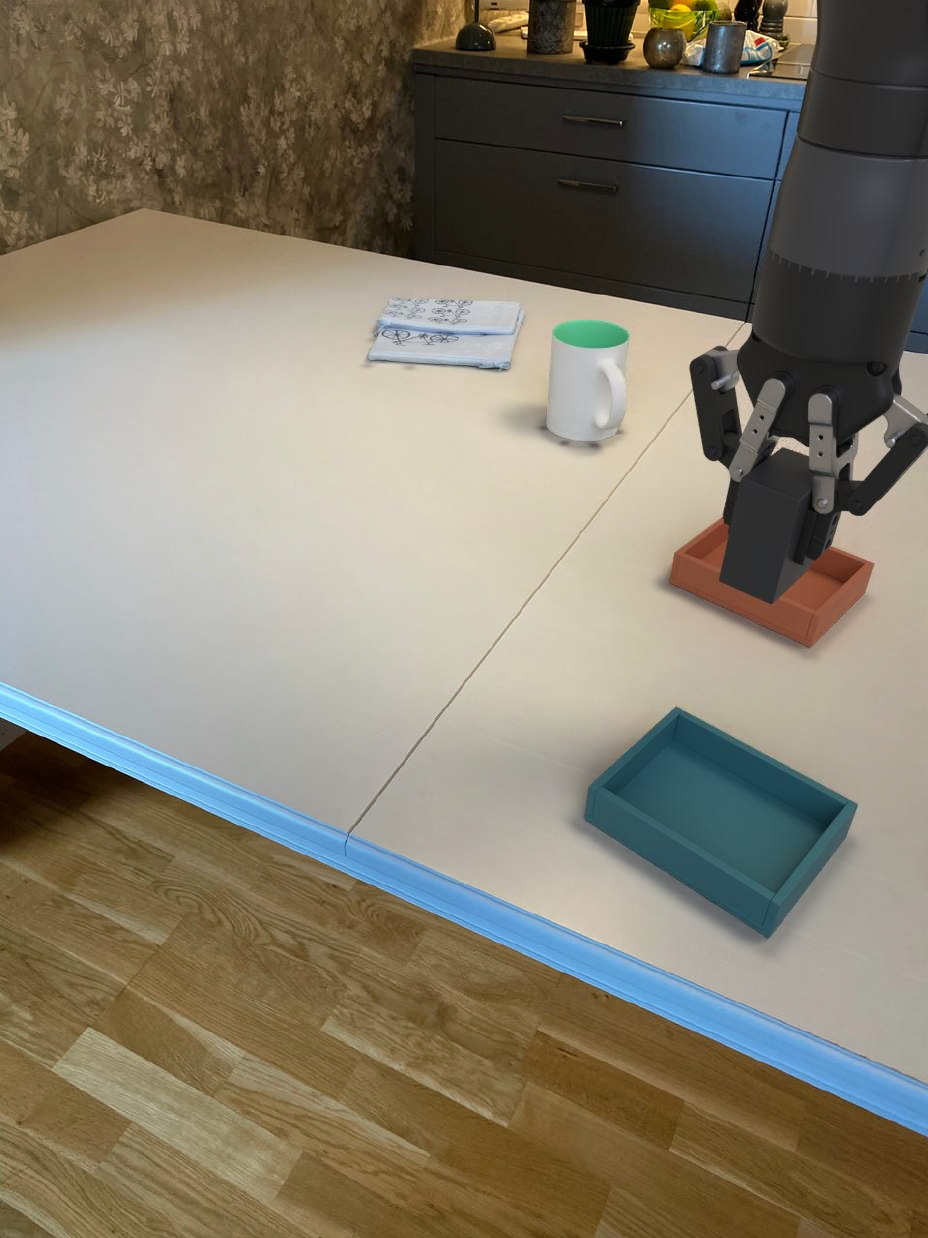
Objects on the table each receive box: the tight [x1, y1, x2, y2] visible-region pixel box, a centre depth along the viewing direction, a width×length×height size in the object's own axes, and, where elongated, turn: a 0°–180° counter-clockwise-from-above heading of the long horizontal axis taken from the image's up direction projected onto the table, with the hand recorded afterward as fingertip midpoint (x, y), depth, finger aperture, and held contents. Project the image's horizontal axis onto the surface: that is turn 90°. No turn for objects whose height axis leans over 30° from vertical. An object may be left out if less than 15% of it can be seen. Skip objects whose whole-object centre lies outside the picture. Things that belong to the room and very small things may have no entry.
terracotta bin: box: [668, 516, 875, 648], centre depth 83 cm, size 13×10×3 cm
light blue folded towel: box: [367, 297, 526, 372], centre depth 128 cm, size 19×20×2 cm
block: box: [719, 446, 813, 604], centre depth 56 cm, size 4×5×7 cm
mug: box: [545, 319, 631, 442], centre depth 104 cm, size 12×8×10 cm, turn 22°
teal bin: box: [583, 706, 859, 939], centre depth 62 cm, size 13×10×3 cm
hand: (772, 544), depth 57 cm, fingers closed on block, 3 cm apart
